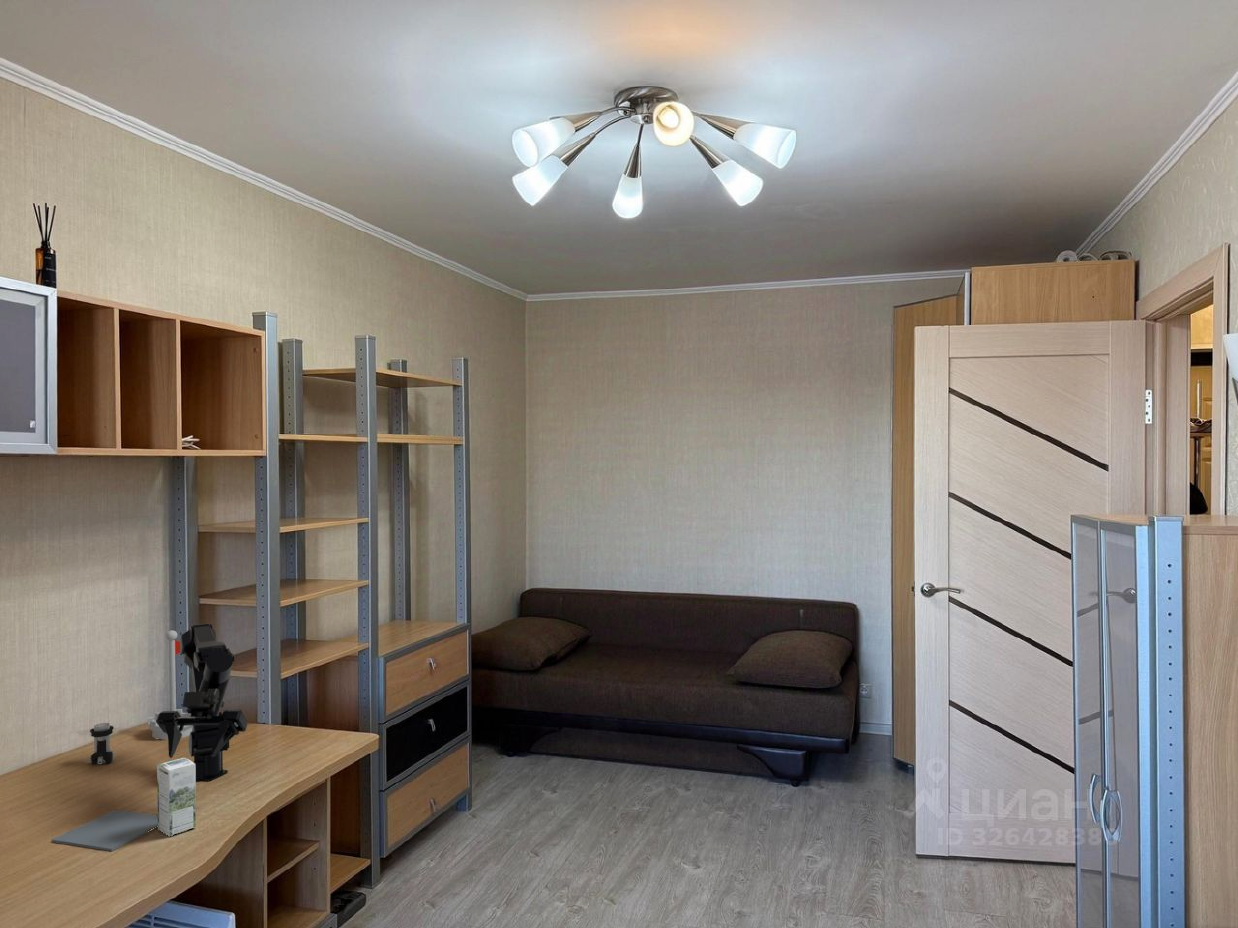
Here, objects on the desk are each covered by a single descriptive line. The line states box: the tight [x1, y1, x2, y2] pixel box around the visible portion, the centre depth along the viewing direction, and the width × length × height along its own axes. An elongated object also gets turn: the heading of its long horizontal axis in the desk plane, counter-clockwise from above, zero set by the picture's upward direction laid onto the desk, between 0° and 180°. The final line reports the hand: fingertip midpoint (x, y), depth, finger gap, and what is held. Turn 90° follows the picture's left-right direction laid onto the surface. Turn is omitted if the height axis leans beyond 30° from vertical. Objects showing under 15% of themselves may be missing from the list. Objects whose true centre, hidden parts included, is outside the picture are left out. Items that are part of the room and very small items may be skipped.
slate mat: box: [51, 809, 158, 852], centre depth 190 cm, size 16×16×1 cm
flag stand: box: [147, 629, 193, 739], centre depth 256 cm, size 13×13×30 cm
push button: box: [84, 722, 114, 765], centre depth 232 cm, size 7×5×10 cm
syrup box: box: [156, 757, 197, 838], centre depth 190 cm, size 6×6×14 cm
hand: (191, 756), depth 197 cm, fingers open, 9 cm apart
